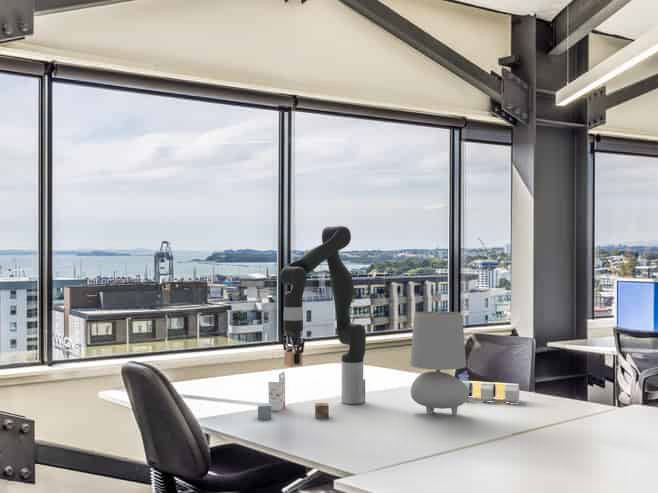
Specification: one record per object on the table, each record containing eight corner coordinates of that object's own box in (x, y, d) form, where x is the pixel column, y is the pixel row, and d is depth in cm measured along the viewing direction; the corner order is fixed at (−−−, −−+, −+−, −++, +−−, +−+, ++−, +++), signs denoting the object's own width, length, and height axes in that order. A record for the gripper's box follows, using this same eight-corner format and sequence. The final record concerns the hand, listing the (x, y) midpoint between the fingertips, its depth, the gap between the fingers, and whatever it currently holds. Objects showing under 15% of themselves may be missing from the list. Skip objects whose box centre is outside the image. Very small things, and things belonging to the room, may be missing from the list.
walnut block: (327, 415, 281) (327, 402, 282) (328, 418, 276) (328, 405, 277) (315, 415, 281) (315, 403, 281) (315, 418, 276) (315, 405, 276)
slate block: (271, 416, 281) (271, 403, 281) (271, 419, 276) (271, 406, 276) (258, 416, 280) (258, 403, 280) (257, 419, 275) (257, 406, 275)
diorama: (456, 401, 310) (456, 370, 310) (460, 397, 320) (460, 367, 320) (517, 405, 301) (517, 374, 302) (519, 400, 311) (519, 370, 311)
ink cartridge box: (273, 406, 299) (273, 370, 299) (285, 406, 298) (285, 370, 298) (267, 410, 290) (267, 373, 290) (279, 411, 289) (279, 374, 289)
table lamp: (475, 411, 289) (474, 310, 289) (461, 422, 269) (461, 315, 270) (419, 406, 298) (419, 309, 299) (402, 417, 279) (402, 312, 279)
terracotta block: (295, 364, 282) (295, 351, 282) (302, 365, 278) (302, 352, 278) (284, 365, 279) (284, 352, 279) (290, 366, 275) (290, 353, 275)
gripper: (311, 319, 275) (311, 364, 275) (292, 316, 287) (292, 360, 287) (294, 320, 271) (294, 366, 271) (275, 317, 283) (275, 361, 283)
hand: (293, 362), depth 279 cm, fingers closed on terracotta block, 5 cm apart
